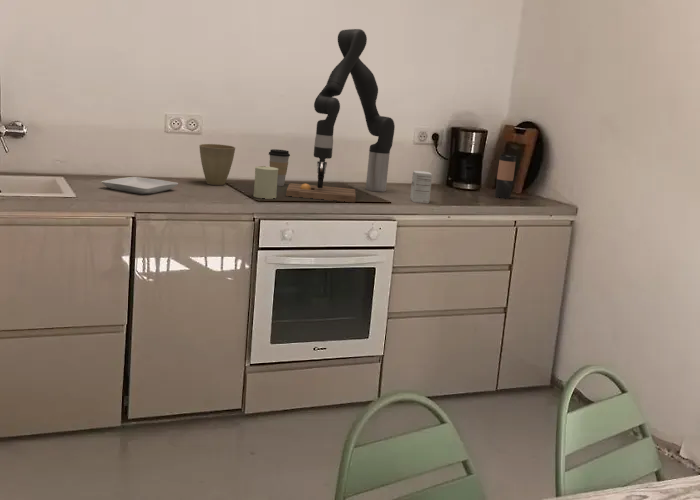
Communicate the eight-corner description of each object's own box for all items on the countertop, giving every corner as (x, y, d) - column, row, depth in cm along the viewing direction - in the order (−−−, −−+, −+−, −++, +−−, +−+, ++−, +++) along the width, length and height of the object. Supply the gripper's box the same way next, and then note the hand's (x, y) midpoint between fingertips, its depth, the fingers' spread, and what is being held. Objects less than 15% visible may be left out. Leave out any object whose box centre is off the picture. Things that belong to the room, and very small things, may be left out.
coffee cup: (284, 187, 345) (286, 152, 342) (263, 184, 347) (265, 150, 344) (290, 184, 354) (292, 150, 351) (270, 182, 356) (272, 148, 353)
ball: (300, 192, 334) (301, 182, 333) (310, 193, 334) (311, 183, 333) (299, 194, 329) (300, 183, 328) (310, 195, 329) (311, 185, 328)
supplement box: (409, 199, 345) (412, 170, 342) (426, 200, 346) (429, 171, 343) (412, 202, 338) (415, 172, 335) (429, 203, 338) (432, 173, 336)
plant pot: (204, 179, 344) (205, 142, 341) (237, 183, 342) (239, 146, 339) (192, 184, 330) (194, 145, 326) (227, 188, 328) (229, 149, 325)
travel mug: (511, 197, 380) (517, 155, 375) (509, 199, 372) (515, 157, 368) (495, 195, 382) (501, 153, 377) (493, 197, 375) (498, 155, 370)
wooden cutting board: (289, 189, 341) (289, 183, 340) (354, 195, 342) (354, 189, 341) (286, 196, 321) (286, 190, 321) (355, 202, 322) (355, 196, 322)
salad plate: (99, 189, 299) (99, 180, 299) (134, 184, 319) (134, 175, 318) (146, 197, 292) (146, 188, 291) (179, 191, 311) (179, 182, 310)
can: (266, 194, 322) (268, 164, 319) (281, 198, 315) (283, 168, 313) (248, 195, 315) (250, 165, 313) (262, 199, 309) (265, 168, 306)
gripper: (332, 148, 321) (328, 190, 324) (332, 145, 334) (329, 186, 337) (313, 146, 320) (310, 189, 324) (314, 143, 333) (311, 184, 337)
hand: (319, 187), depth 331 cm, fingers closed
